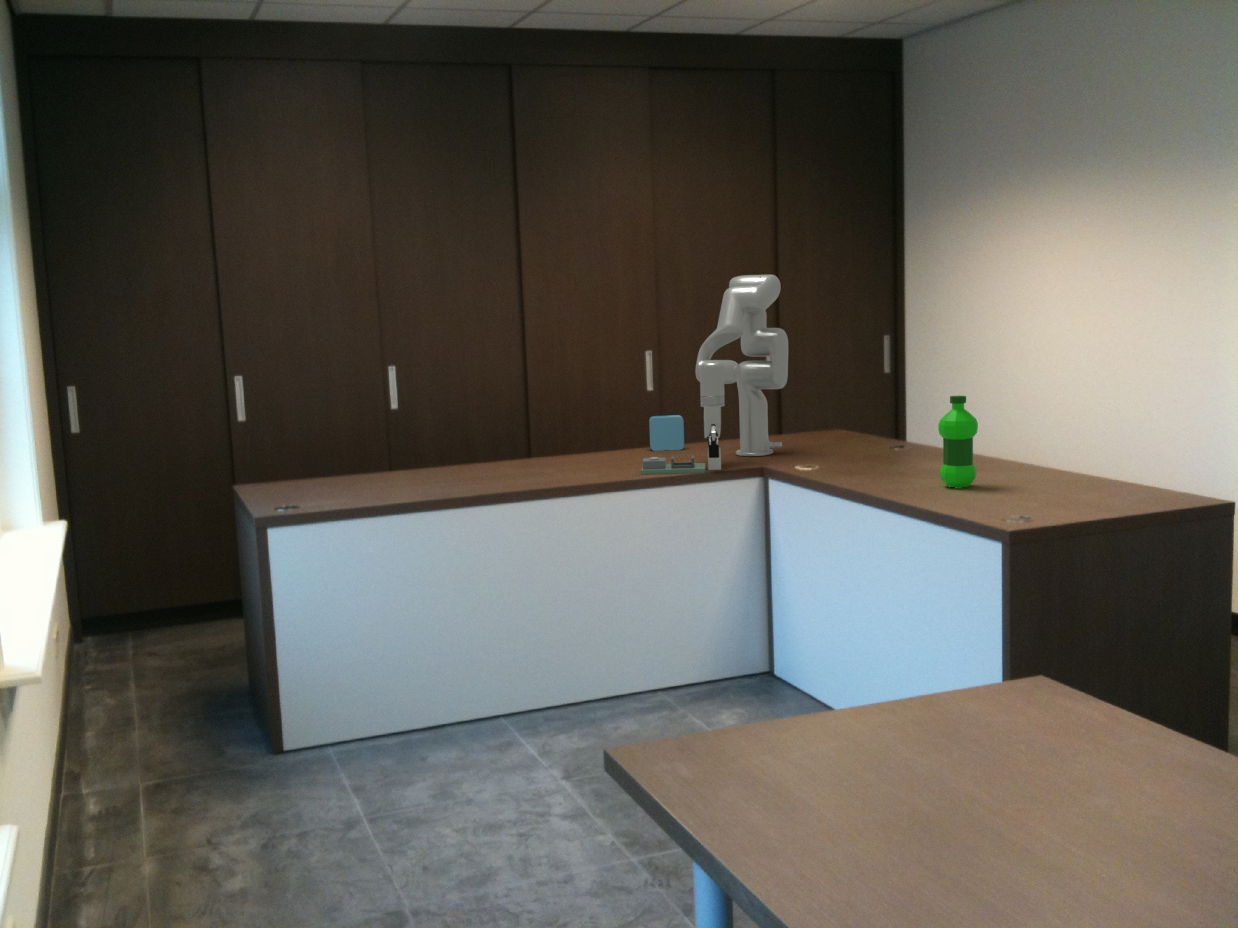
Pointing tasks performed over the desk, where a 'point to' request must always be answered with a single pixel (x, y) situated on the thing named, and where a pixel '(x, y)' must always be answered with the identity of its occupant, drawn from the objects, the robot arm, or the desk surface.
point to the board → (670, 466)
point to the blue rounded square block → (666, 433)
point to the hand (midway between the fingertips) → (713, 455)
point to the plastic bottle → (958, 444)
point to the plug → (714, 461)
